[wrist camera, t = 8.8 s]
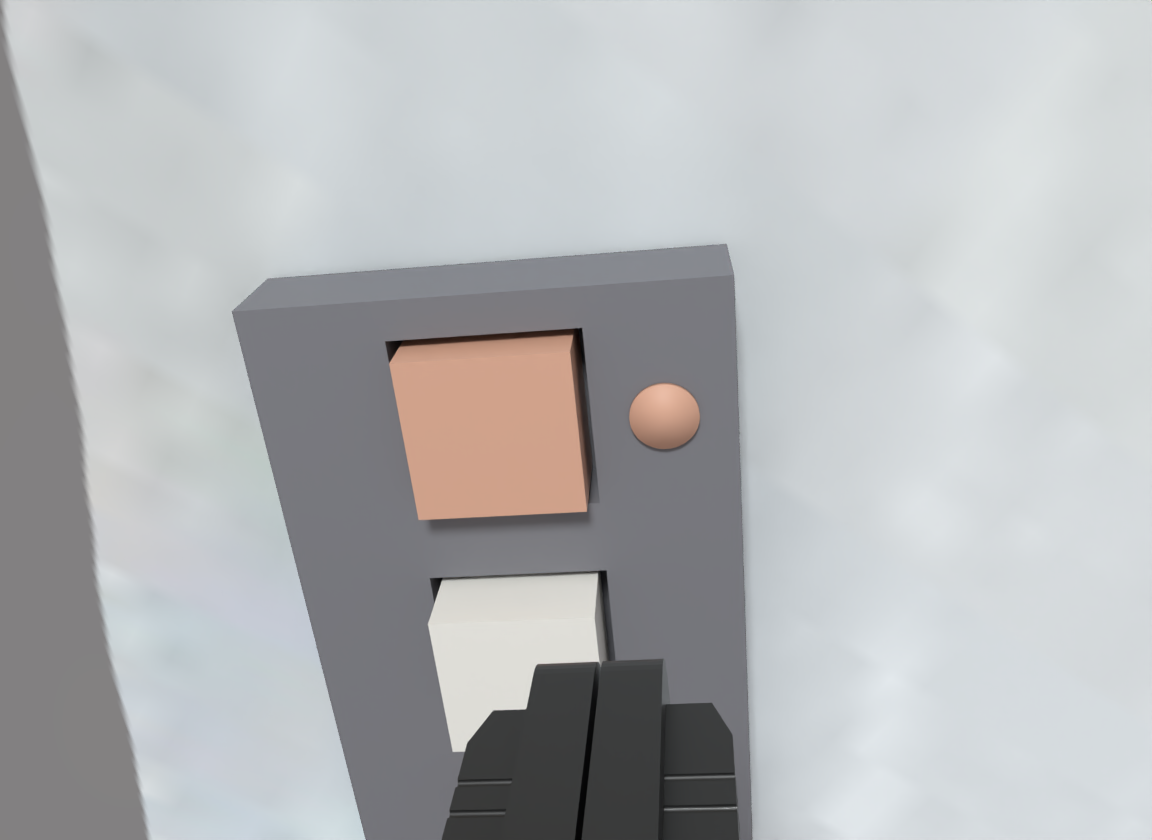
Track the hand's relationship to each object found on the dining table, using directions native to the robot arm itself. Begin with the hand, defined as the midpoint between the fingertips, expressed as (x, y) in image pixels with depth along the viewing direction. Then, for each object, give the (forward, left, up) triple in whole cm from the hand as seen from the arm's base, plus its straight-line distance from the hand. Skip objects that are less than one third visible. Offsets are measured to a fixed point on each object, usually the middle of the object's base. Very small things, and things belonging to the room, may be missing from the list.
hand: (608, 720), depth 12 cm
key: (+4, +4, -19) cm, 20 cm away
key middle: (+4, +12, -18) cm, 22 cm away
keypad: (+4, +12, -20) cm, 24 cm away
